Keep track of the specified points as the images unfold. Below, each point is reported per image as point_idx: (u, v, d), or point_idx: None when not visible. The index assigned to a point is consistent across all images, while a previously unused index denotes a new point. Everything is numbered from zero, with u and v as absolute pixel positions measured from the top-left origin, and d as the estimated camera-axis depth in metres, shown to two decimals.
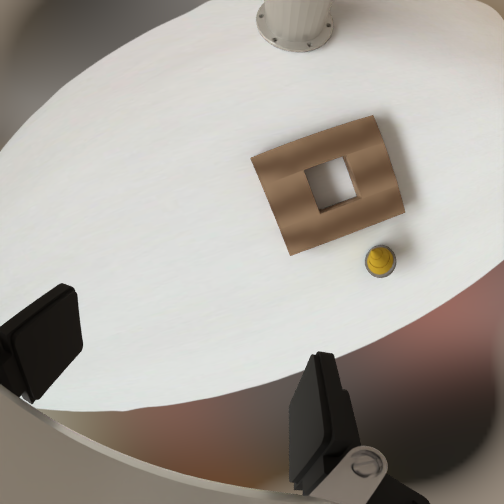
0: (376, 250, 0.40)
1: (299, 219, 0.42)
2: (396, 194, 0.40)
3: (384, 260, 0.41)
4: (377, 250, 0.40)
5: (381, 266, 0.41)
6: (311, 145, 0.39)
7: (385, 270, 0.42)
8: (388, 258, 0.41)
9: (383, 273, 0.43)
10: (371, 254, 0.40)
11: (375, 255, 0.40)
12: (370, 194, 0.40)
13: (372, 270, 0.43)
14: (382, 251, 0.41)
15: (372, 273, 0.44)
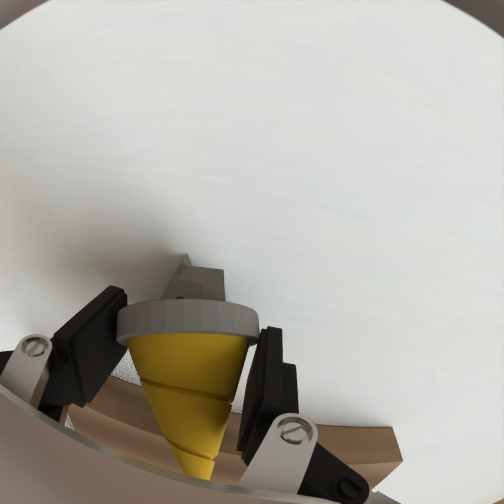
0: None
1: None
2: (82, 429, 0.13)
3: (162, 412, 0.08)
4: None
5: (186, 395, 0.08)
6: None
7: (174, 352, 0.08)
8: (141, 381, 0.08)
9: (190, 336, 0.08)
10: (210, 472, 0.08)
11: (195, 472, 0.07)
12: None
13: (238, 355, 0.09)
14: None
15: (246, 336, 0.09)
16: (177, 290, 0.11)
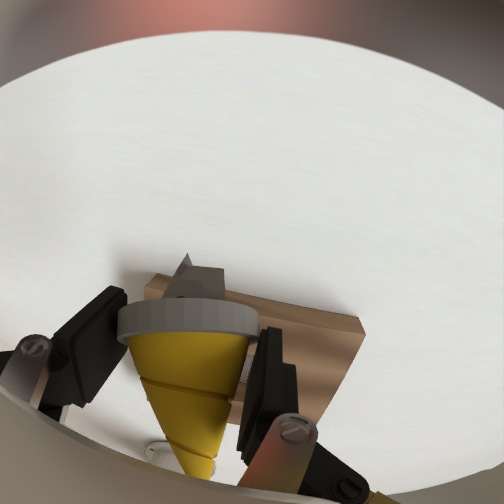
0: None
1: (315, 369, 0.25)
2: None
3: (162, 411, 0.08)
4: None
5: (186, 394, 0.08)
6: (239, 418, 0.28)
7: (174, 351, 0.08)
8: (141, 380, 0.08)
9: (190, 335, 0.08)
10: (210, 471, 0.08)
11: (195, 471, 0.07)
12: None
13: (239, 354, 0.09)
14: None
15: (246, 335, 0.09)
16: (178, 289, 0.11)
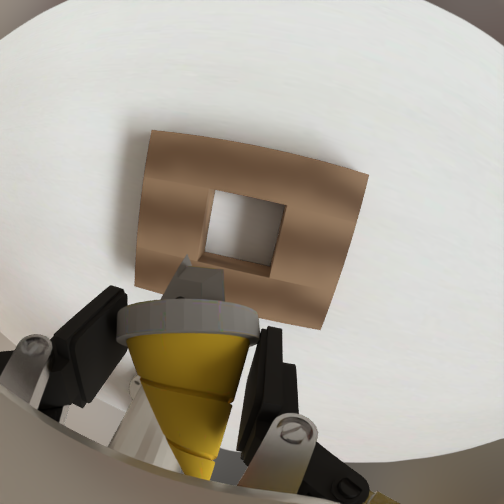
0: None
1: (321, 217, 0.25)
2: (152, 164, 0.24)
3: (162, 412, 0.08)
4: None
5: (186, 395, 0.08)
6: (237, 300, 0.28)
7: (174, 352, 0.08)
8: (141, 381, 0.08)
9: (190, 336, 0.08)
10: (210, 472, 0.08)
11: (195, 472, 0.07)
12: (192, 187, 0.25)
13: (239, 355, 0.09)
14: None
15: (246, 336, 0.09)
16: (177, 290, 0.11)
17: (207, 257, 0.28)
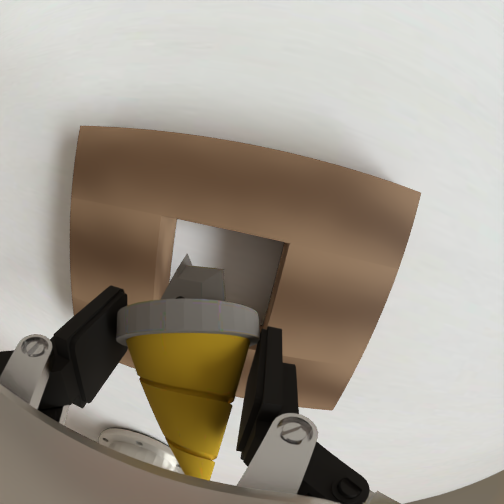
0: None
1: (345, 262, 0.15)
2: (81, 178, 0.15)
3: (161, 412, 0.08)
4: None
5: (186, 395, 0.08)
6: None
7: (173, 352, 0.08)
8: (141, 381, 0.08)
9: (190, 336, 0.08)
10: (210, 472, 0.08)
11: (195, 472, 0.07)
12: (136, 213, 0.15)
13: (239, 355, 0.09)
14: None
15: (246, 336, 0.09)
16: (177, 290, 0.11)
17: None
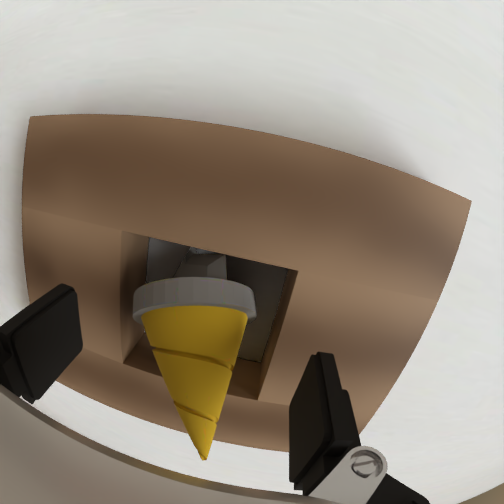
0: None
1: (373, 295, 0.10)
2: (30, 183, 0.10)
3: (172, 377, 0.10)
4: None
5: (193, 360, 0.10)
6: None
7: (184, 322, 0.10)
8: (154, 351, 0.10)
9: (198, 308, 0.10)
10: (212, 434, 0.10)
11: (199, 433, 0.09)
12: (91, 227, 0.11)
13: (238, 327, 0.11)
14: None
15: (244, 310, 0.11)
16: (185, 273, 0.13)
17: (145, 350, 0.14)
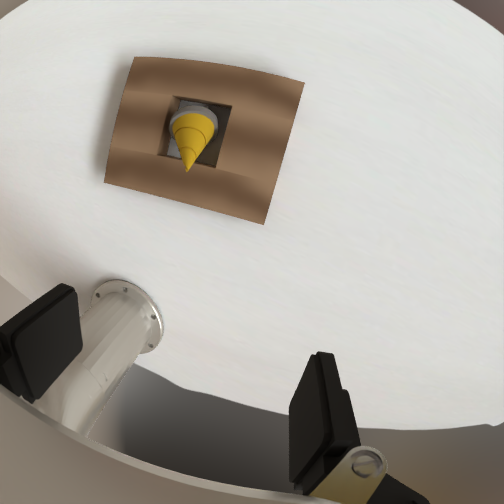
0: (183, 162, 0.26)
1: (261, 115, 0.27)
2: (131, 81, 0.26)
3: (182, 136, 0.26)
4: (182, 160, 0.26)
5: (191, 129, 0.26)
6: (187, 190, 0.30)
7: (190, 118, 0.26)
8: (176, 132, 0.27)
9: (196, 114, 0.26)
10: (192, 161, 0.26)
11: (187, 157, 0.26)
12: (159, 95, 0.27)
13: (209, 125, 0.27)
14: None
15: (212, 120, 0.27)
16: None
17: (167, 156, 0.31)
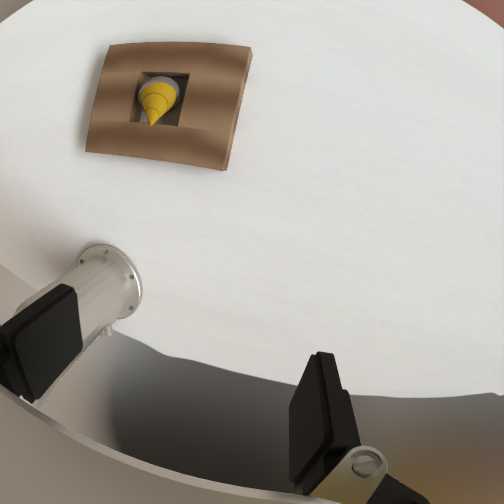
0: (148, 120, 0.28)
1: (214, 77, 0.29)
2: (107, 64, 0.29)
3: (147, 101, 0.28)
4: (147, 118, 0.28)
5: (155, 94, 0.28)
6: (155, 147, 0.32)
7: (154, 86, 0.28)
8: (143, 99, 0.29)
9: (159, 82, 0.28)
10: (155, 118, 0.28)
11: (151, 115, 0.28)
12: (130, 72, 0.29)
13: (171, 91, 0.29)
14: (145, 112, 0.29)
15: (174, 87, 0.29)
16: None
17: None
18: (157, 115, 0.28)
